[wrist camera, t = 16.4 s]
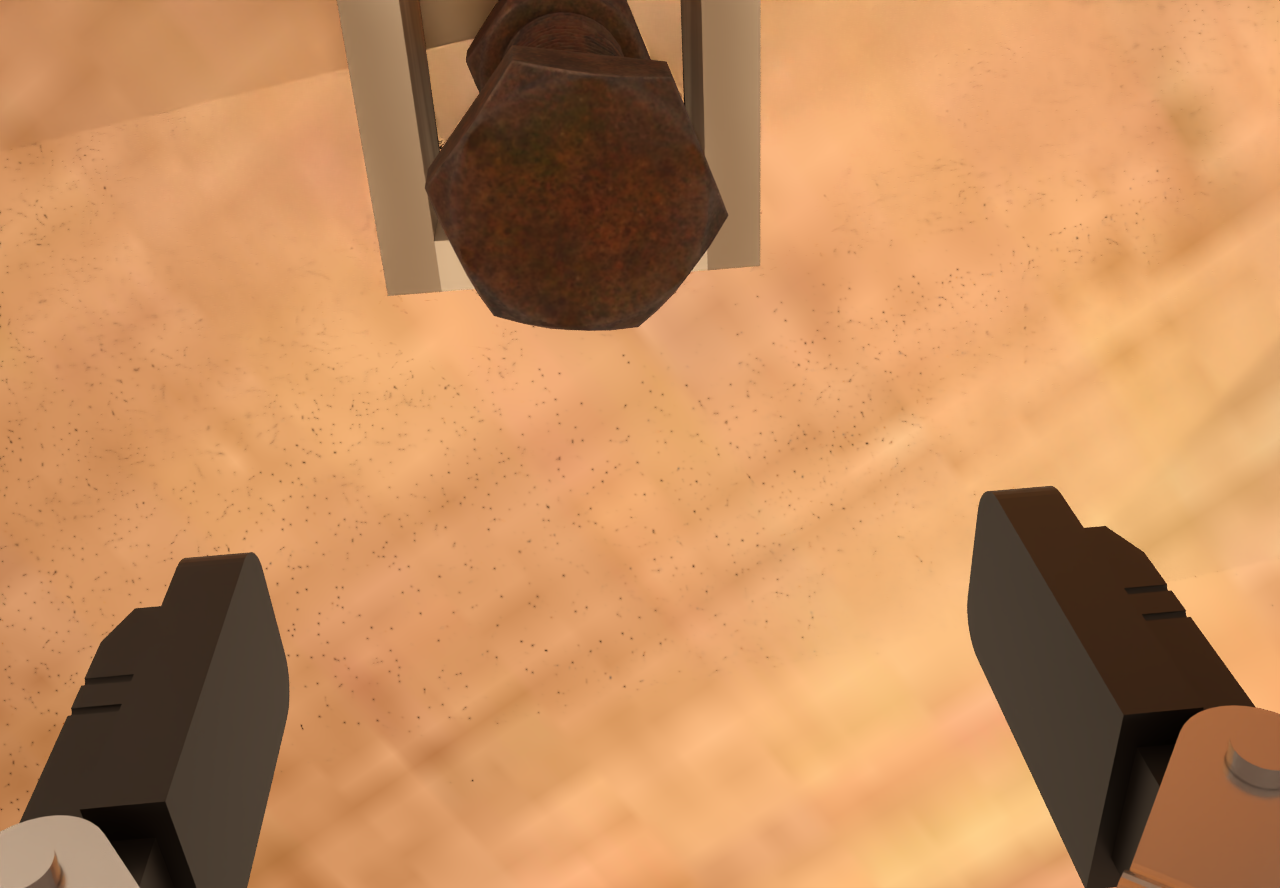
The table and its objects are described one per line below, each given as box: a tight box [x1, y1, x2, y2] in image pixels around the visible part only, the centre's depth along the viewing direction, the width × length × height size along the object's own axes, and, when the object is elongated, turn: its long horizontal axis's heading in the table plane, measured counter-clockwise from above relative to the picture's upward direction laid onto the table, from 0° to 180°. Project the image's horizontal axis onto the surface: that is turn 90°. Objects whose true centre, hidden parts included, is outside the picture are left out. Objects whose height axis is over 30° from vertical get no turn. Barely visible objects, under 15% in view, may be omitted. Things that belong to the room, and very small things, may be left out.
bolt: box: [425, 0, 728, 331], centre depth 29 cm, size 6×5×15 cm
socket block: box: [337, 0, 760, 296], centre depth 34 cm, size 10×12×5 cm
